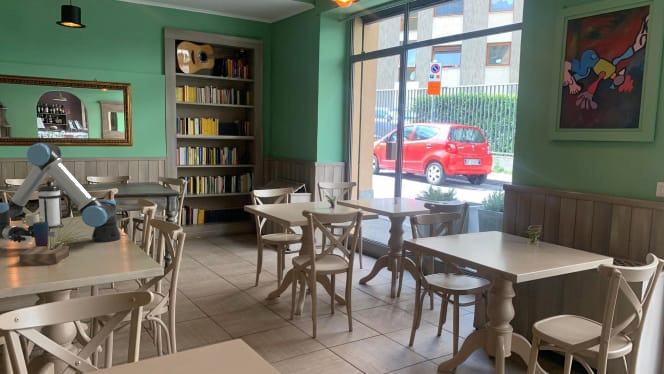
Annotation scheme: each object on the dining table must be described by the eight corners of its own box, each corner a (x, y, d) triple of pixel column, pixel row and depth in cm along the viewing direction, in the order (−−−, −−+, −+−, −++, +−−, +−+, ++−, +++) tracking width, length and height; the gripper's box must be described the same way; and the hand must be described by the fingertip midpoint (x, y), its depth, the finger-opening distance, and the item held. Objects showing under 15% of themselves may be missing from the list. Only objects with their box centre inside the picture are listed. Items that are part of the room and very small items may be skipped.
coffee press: (58, 229, 320) (55, 182, 316) (33, 229, 320) (30, 182, 317) (72, 224, 337) (70, 179, 334) (48, 224, 337) (46, 179, 334)
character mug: (44, 234, 306) (43, 212, 304) (43, 236, 299) (42, 214, 298) (23, 235, 301) (21, 214, 299) (22, 238, 294) (20, 216, 293)
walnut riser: (69, 255, 254) (68, 245, 253) (56, 263, 238) (55, 253, 238) (34, 256, 252) (34, 246, 251) (19, 265, 236) (19, 254, 236)
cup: (34, 253, 258) (32, 224, 256) (34, 250, 264) (33, 222, 262) (49, 252, 261) (47, 223, 259) (49, 249, 267) (48, 221, 265)
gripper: (36, 236, 281) (64, 239, 273) (-9, 245, 258) (20, 249, 250) (35, 222, 280) (63, 225, 272) (-10, 230, 257) (19, 234, 249)
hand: (43, 236), depth 261 cm, fingers open, 13 cm apart
